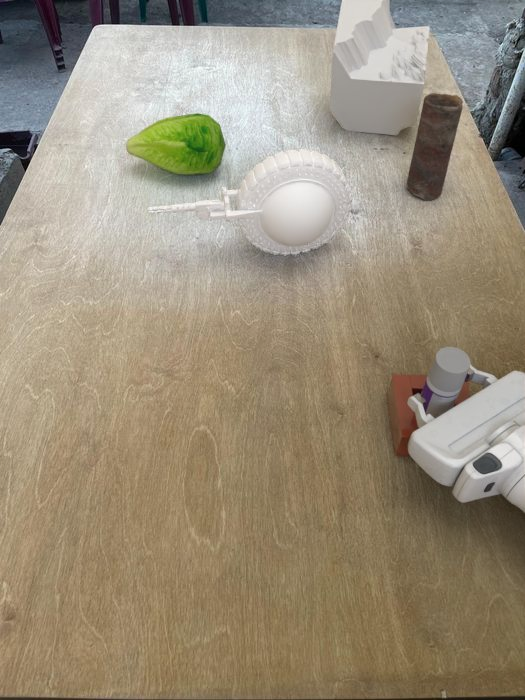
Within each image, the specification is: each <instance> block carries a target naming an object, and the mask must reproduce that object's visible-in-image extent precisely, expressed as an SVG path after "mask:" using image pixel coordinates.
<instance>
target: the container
mask: <svg viewBox="0 0 525 700" xmlns="http://www.w3.org/2000/svg"><path fill="white" fill-rule="evenodd" d="M471 363H472V362H471V358H470V357H469V355H468V354H467V352H465V351H464V350H462V349H461V348H458V347H455V346H444V347H442V348H440V349H438V351H437V352H436V354H435V356H434V359H433V362H432V363H431V366H430V368H429V371H428V374H427V375H428V376H427V378H426V381H425V384H424V387H423V390H422V392H421V397H423V398H424V399H425V400H426V404H425V406H424V411H425V414H426V416H427V414H431V415H432V416H433V417H434V418H437V417H439V416H440V415H442V414H443V413H445V412H447V411H448V410H450V409H452V408H453V407H454V404H455V402H456V400H457V398H458V395H459V393H460V391H461V388H462V385H463V383H464V380H465V378H466V375H467V373H468V370H469V367H470V364H471ZM471 365H472V364H471Z"/></svg>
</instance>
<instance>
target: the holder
mask: <svg viewBox="0 0 525 700" xmlns="http://www.w3.org/2000/svg"><path fill="white" fill-rule="evenodd" d="M391 374H392V373H391ZM427 376H428V374H402V373H401V374H399V373H398V374H396V373H394V374H392V375H391V377H390V381H389V384H388V389H387V392H386V399H387V407H388V414H389V421H390V422H389V423H390V429H391V436H392V444H393V451H394V456H395V457H411V456H410V455H409V452H408V442H409V439H410V437H411V434H412V433H413V432H414V431H416V430H417V429H419V427H418V424H417V420H416V416H415V412H414V411H413V410H412V409H411V408H410V407H409V406H408V404H407V402H408V399H409V398H410V397H411V396H413V395H415V394H417V393H419V394H420V395H421V392H422V390H423V387H424V384H425V381H426V378H427ZM471 396H472V395H471V391H470V387H469V382H467V383H466V382H465V381H464V383H463V385H462V388H461V391H460V393H459V395H458V398H457V400H456V402H455V404H454V407H455V406H457V405H458V404H460V403H461V402H463V401H465V400H466V399H468V398H470V397H471Z"/></svg>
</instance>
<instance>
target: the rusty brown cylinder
mask: <svg viewBox="0 0 525 700" xmlns="http://www.w3.org/2000/svg"><path fill="white" fill-rule="evenodd" d="M463 102H464V100H463V99H462V98H461V97H460V96H459V95H457V94H454V95H452V94H448V93H435V92H430V93H429V94H426V96H424V97H423V103H422V108H421V112H420V117H419V123H418V128H417V133H416V137H415V142H414V146H413V151H412V154H411V155H412V156H411V159H410V160H411V161H410V166H409V170H408V175H407V179H406V180H407V181H406V186H407V189H408V190H409V191H410V192H411V193H412V195H413V196H416V197H417V198H420V199H422V200H423V201H427V202H429V201H433V200H435V199H436V198H439V197H440V196H441V194H442V192H443V189H444V185H445V181H446V177H447V173H448V169H449V164H450V160H451V155H452V151H453V147H454V144H455V140H456V136H457V132H458V127H459V124H460V120H461V116H462V111H463V107H464V105H463Z"/></svg>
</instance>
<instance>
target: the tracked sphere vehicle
mask: <svg viewBox="0 0 525 700" xmlns="http://www.w3.org/2000/svg"><path fill="white" fill-rule="evenodd" d="M252 168H253V169H250V170H249V171H248V172H247V173H246V175H245V178H243V179H242V181H241V183H240V185H239V188H238V189H228V188H227V186H222V187H221V190H220V195H221V200H220V199H218V198H217V199H205V200H196V201H195V202H184V203H174V204H171V205H159V206H157V205H156V204H155V205H154V206H149V207H147V214H149V215H154V214H155V215H158V214H163V213H164V214H167V213H186V212H194V211H195V212H196V218H197V220H201V221H222V220H225V223H230V222H231V221H232V220H238V223H239V227H240V230H241V233H242V234H243V237H245V239H246V240H247V241H248V242H249V243H250V244H251V245H252V246H254V247H255V249H257V250H258V249H260V251H262V252H263V253H269V254H272V255H274V256H279V255H280V256H284V257H287V256H290V255H291V256H297V255H300V254H301V253H302V254H308V253H309V252H311V251H312V250H315V249H316V250H318V249H319V247H322V245H325V244H328V242H329V241H331V239H333V238H334V237H337V234H338V233H339V231H341V230H342V229H344V226H345V224H346V222H347V220H349V216H350V213H351V210H352V205H353V204H352V202H353V196H352V195H353V194H352V190H351V187H350V184H349V182H348V180H347V177H346V175H345V172H344V171H343V169H342V168H341V167H340V165H339V164H338V163H337V161H335V160H334V159H333V158H331V157H329V156H328V155H326V154H325V153H321V151H316V150H312V149H311V150H309V149H305V148H302V149H301V148H299V149H297V148H295V149H292V148H290V149H288V150H286V152H285V150H283V151H278V152H277V153H274V156H273V155H270V156H266V158H264V159H262V161H260V162H258V163H256V165H254V166H253V167H252ZM233 198H235V210H231V202H230V199H233Z"/></svg>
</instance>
